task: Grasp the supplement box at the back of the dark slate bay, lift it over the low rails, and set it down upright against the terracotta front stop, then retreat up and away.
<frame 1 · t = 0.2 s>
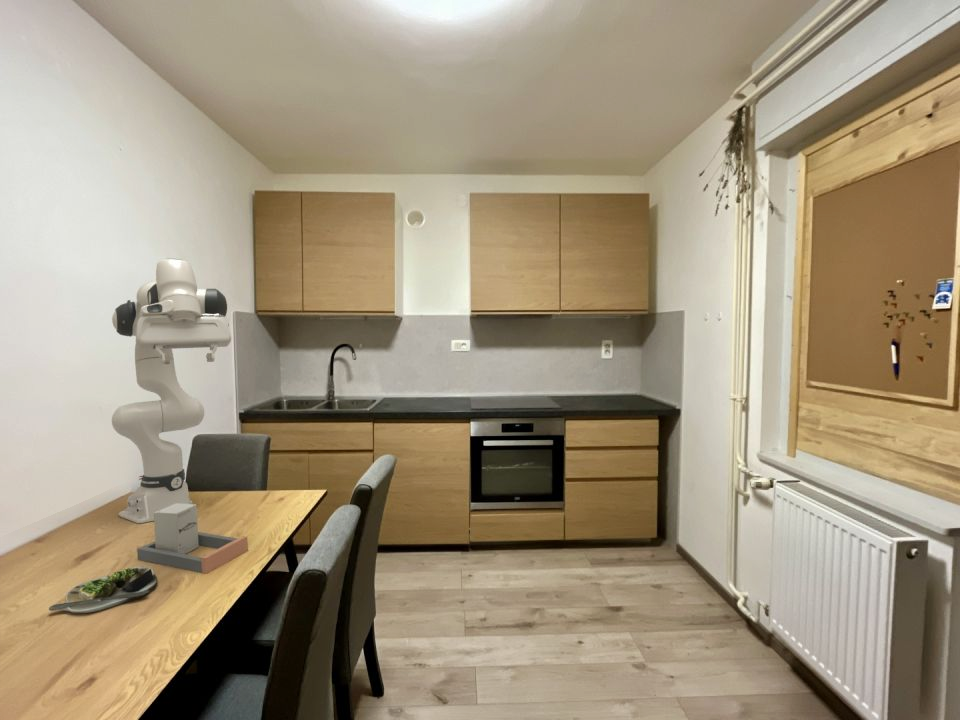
hand: (189, 362, 113), 54 cm above the table, tool tilted 30°, fingers open, 8 cm apart
supplement box: (178, 552, 128), resting in bay
bay: (193, 555, 126), on the table
salad plate: (116, 594, 108), on the table
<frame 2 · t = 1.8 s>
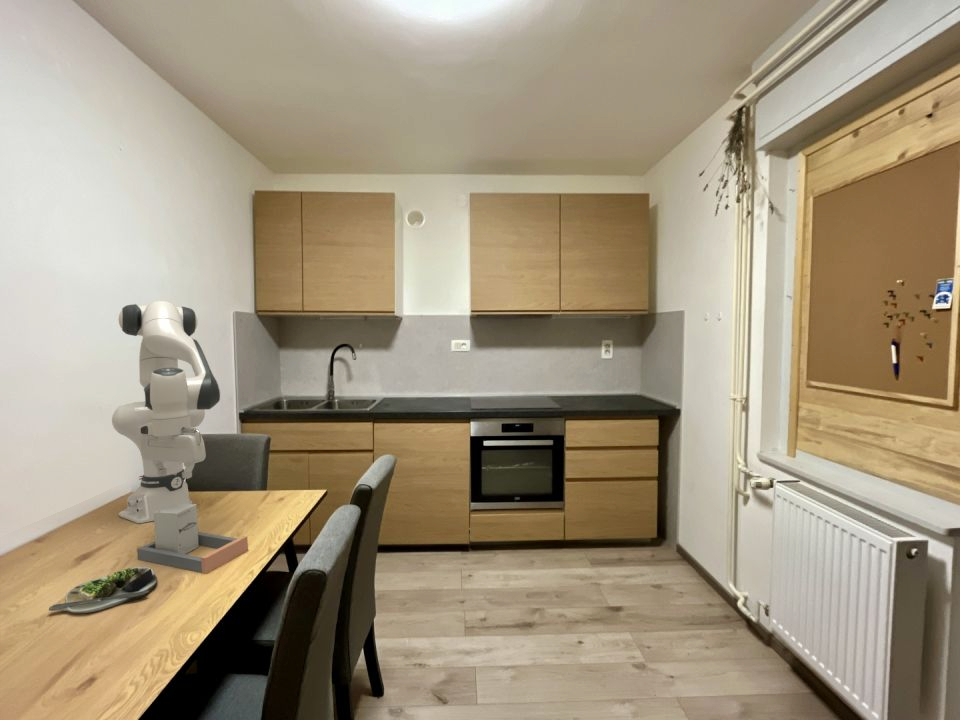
hand: (174, 476, 127), 21 cm above the table, tool pointing down, fingers open, 8 cm apart
nothing on the table moved.
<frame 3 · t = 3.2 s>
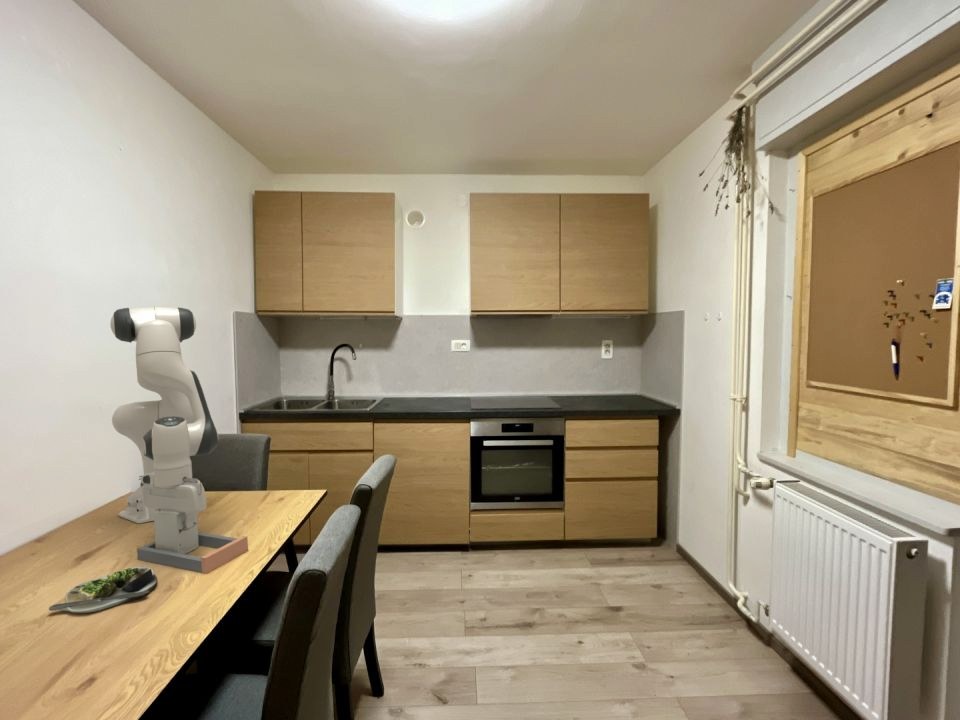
hand: (176, 525, 127), 8 cm above the table, tool pointing down, fingers open, 8 cm apart
nothing on the table moved.
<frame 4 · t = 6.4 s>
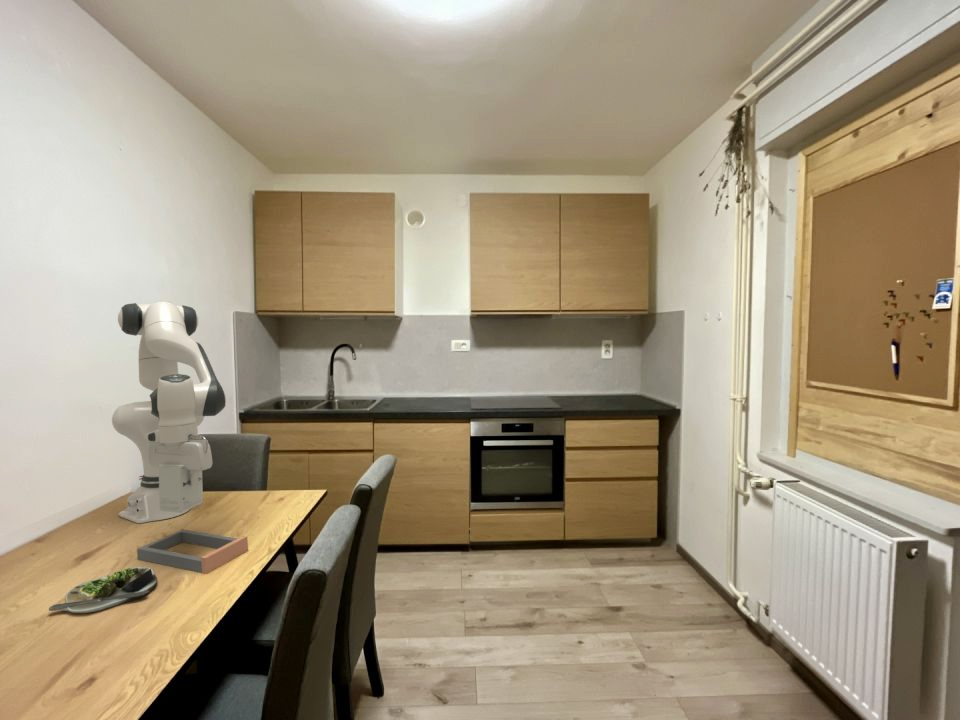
hand: (181, 484, 126), 20 cm above the table, tool pointing down, fingers closed on supplement box, 8 cm apart
supplement box: (182, 508, 126), point 13 cm above the table, touching gripper
everything else where it was.
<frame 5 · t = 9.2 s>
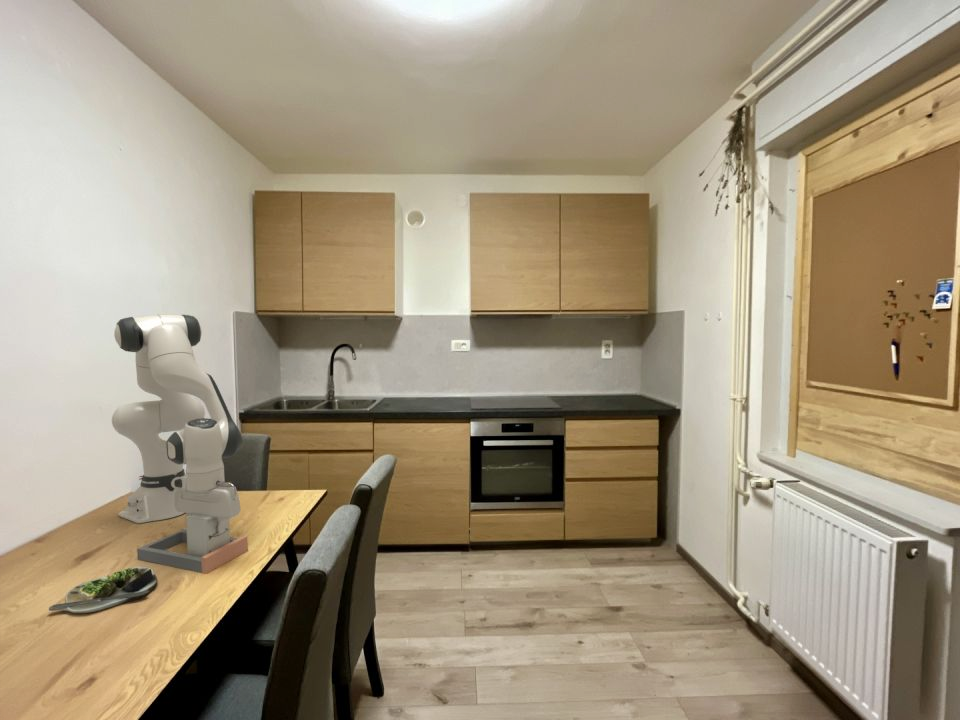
hand: (208, 530, 124), 8 cm above the table, tool pointing down, fingers closed on supplement box, 7 cm apart
supplement box: (210, 559, 124), resting in bay, touching gripper
everything else where it was.
when the fingers open (8 cm above the table, at t = 10.2 s): supplement box stays where it is, resting in bay.
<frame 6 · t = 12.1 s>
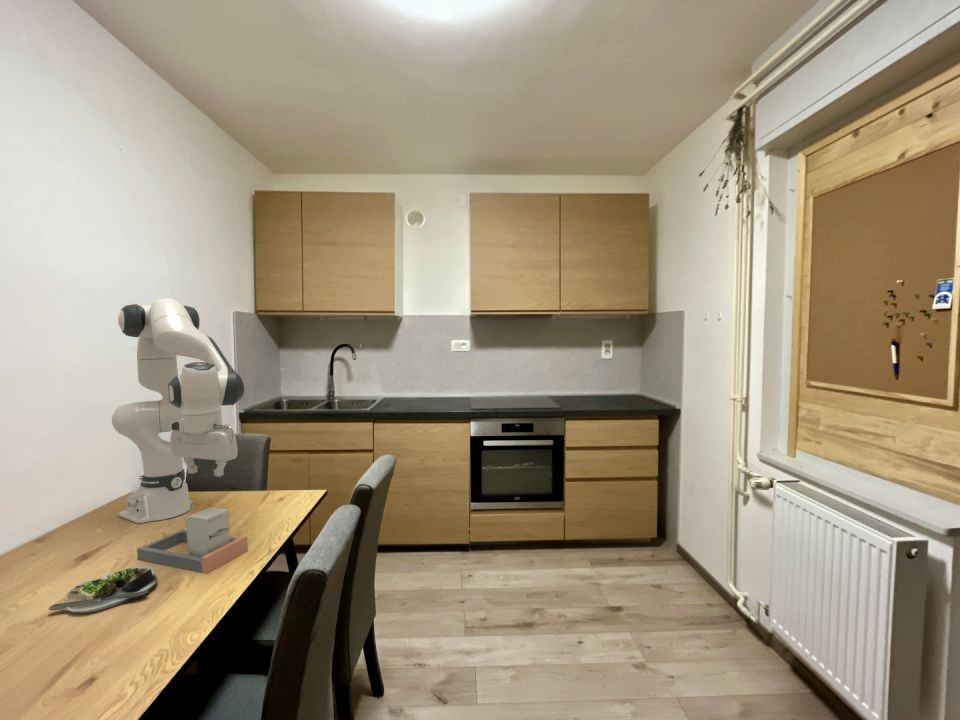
hand: (205, 474, 123), 23 cm above the table, tool pointing down, fingers open, 8 cm apart
supplement box: (210, 559, 124), resting in bay
everything else where it was.
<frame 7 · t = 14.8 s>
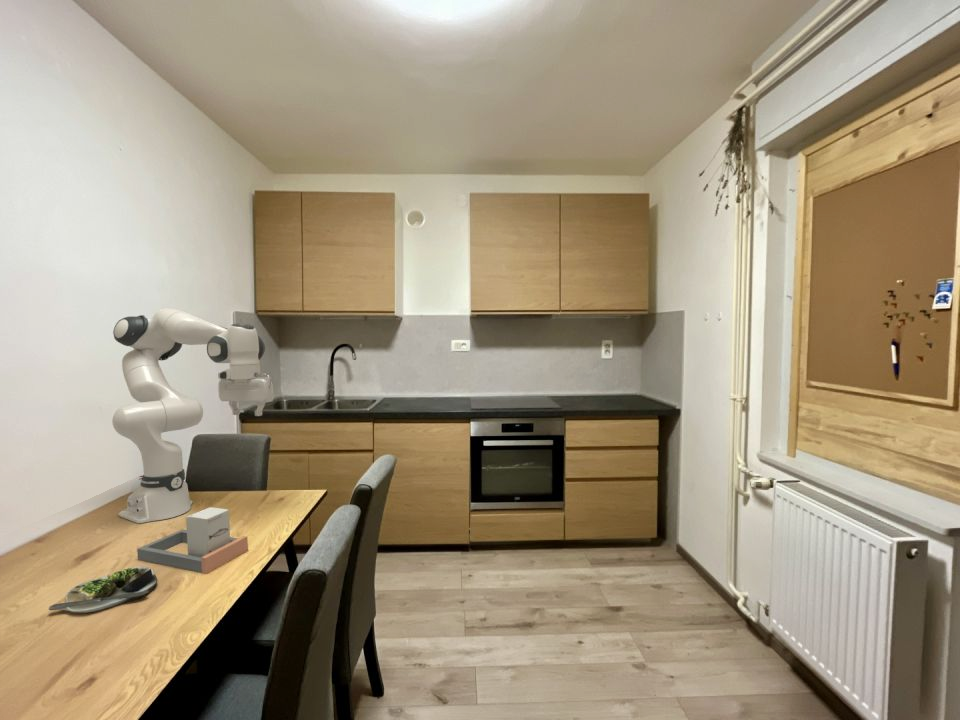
hand: (247, 415, 151), 34 cm above the table, tool pointing down, fingers open, 8 cm apart
nothing on the table moved.
at the end: supplement box 1.0 cm from the target spot, resting in bay; supplement box tilted 0°; the gripper is holding nothing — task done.
